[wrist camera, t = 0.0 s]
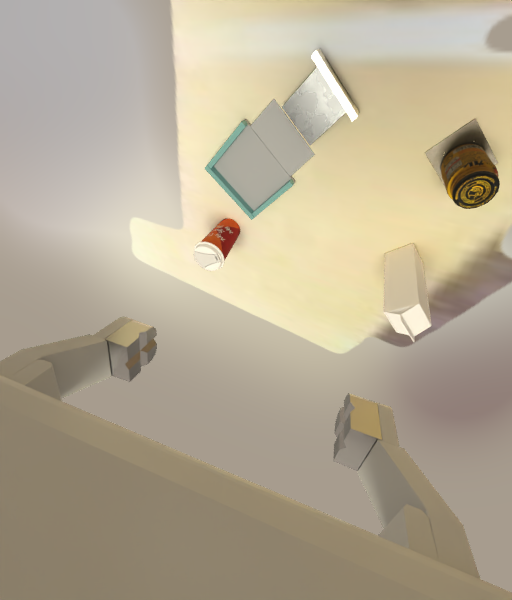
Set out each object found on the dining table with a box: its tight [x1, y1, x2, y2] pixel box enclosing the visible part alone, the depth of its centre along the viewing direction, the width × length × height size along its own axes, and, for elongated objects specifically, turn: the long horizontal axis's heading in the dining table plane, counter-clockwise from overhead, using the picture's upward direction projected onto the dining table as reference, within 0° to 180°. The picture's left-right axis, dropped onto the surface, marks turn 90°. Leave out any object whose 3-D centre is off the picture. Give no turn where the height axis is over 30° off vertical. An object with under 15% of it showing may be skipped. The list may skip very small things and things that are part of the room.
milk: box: [384, 243, 431, 342], centre depth 54 cm, size 6×6×22 cm
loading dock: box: [205, 99, 315, 220], centre depth 56 cm, size 19×15×4 cm
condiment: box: [425, 119, 500, 209], centre depth 41 cm, size 7×8×12 cm
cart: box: [282, 49, 359, 145], centre depth 45 cm, size 9×11×4 cm
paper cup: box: [194, 219, 240, 271], centre depth 66 cm, size 8×8×14 cm
